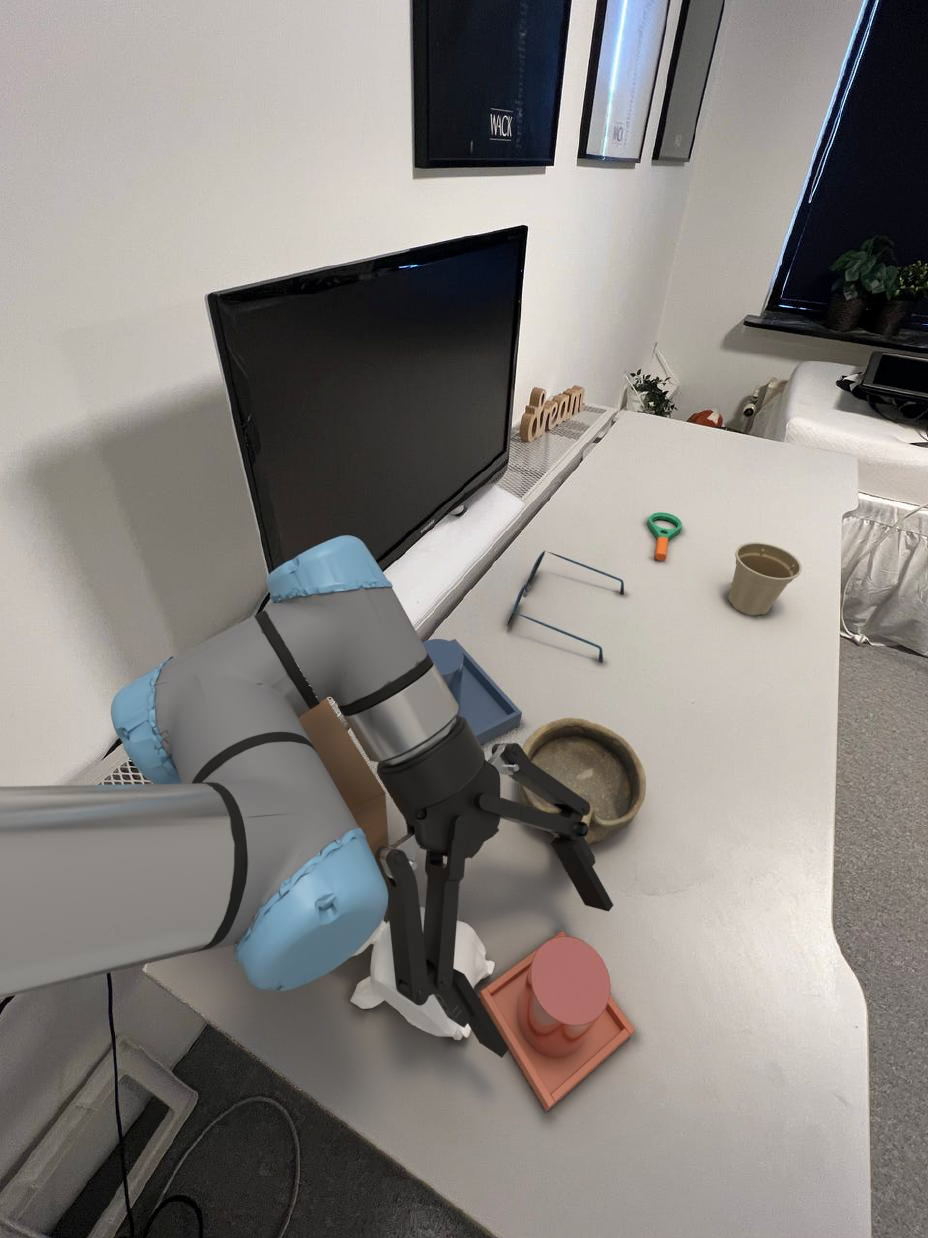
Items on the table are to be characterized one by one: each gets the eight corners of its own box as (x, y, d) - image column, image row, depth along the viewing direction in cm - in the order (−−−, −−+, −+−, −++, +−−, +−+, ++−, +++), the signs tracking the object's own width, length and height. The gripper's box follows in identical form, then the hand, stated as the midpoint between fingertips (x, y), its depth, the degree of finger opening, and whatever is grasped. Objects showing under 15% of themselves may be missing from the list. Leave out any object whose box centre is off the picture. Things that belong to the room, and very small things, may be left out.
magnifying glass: (649, 514, 114) (651, 507, 113) (681, 521, 113) (683, 513, 112) (641, 557, 103) (643, 549, 102) (676, 565, 102) (679, 557, 101)
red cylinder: (547, 1076, 47) (566, 1045, 41) (502, 1003, 51) (514, 965, 45) (602, 1027, 50) (627, 992, 44) (556, 961, 53) (573, 920, 47)
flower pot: (722, 618, 92) (743, 574, 86) (712, 582, 99) (730, 538, 93) (785, 627, 91) (810, 582, 85) (770, 589, 98) (792, 546, 92)
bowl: (641, 768, 70) (664, 713, 64) (621, 911, 58) (647, 862, 51) (528, 733, 73) (539, 678, 66) (486, 863, 60) (494, 811, 54)
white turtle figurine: (474, 960, 56) (343, 871, 56) (514, 943, 50) (367, 843, 50) (434, 1060, 50) (288, 960, 50) (474, 1054, 44) (308, 941, 44)
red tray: (546, 1112, 46) (549, 1107, 45) (478, 997, 51) (480, 991, 50) (630, 1035, 50) (635, 1030, 49) (559, 937, 55) (562, 930, 54)
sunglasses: (535, 569, 99) (543, 545, 95) (619, 602, 96) (631, 579, 93) (502, 633, 86) (510, 608, 83) (597, 672, 84) (609, 649, 81)
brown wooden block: (273, 946, 54) (240, 868, 44) (231, 840, 61) (195, 752, 51) (391, 876, 59) (385, 792, 49) (340, 786, 66) (326, 697, 56)
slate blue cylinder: (428, 732, 72) (428, 682, 66) (403, 700, 75) (402, 649, 69) (469, 713, 74) (473, 662, 68) (443, 682, 78) (446, 632, 72)
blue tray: (413, 780, 67) (413, 767, 66) (355, 693, 76) (353, 680, 75) (520, 725, 74) (522, 712, 72) (454, 651, 83) (454, 638, 82)
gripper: (497, 660, 54) (602, 853, 56) (253, 847, 39) (410, 1094, 42) (553, 648, 48) (668, 864, 50) (289, 863, 33) (470, 1151, 36)
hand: (551, 970), depth 46 cm, fingers open, 13 cm apart
